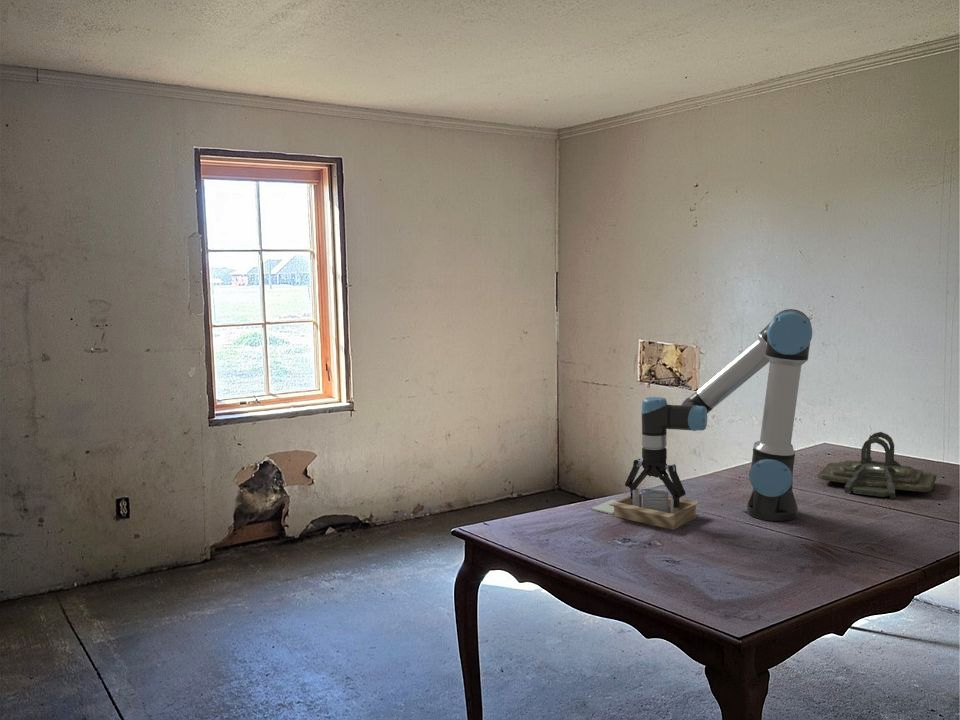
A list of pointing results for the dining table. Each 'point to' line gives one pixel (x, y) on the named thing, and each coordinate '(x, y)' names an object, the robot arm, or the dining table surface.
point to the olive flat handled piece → (877, 472)
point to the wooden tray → (656, 513)
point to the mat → (605, 507)
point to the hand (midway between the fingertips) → (654, 513)
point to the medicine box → (655, 499)
